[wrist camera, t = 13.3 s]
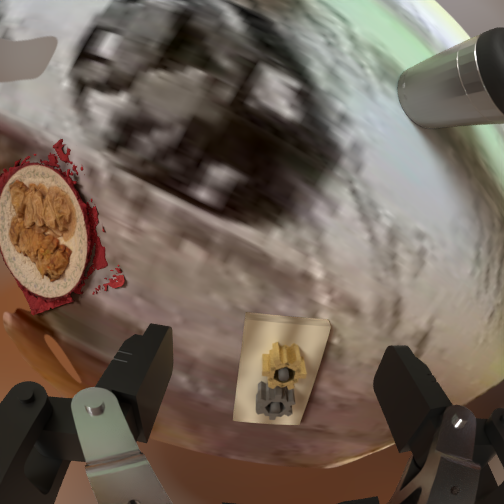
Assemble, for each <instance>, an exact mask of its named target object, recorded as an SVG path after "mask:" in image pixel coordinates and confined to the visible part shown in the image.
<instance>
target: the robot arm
mask: <svg viewBox="0 0 504 504" xmlns="http://www.w3.org/2000/svg"><path fill="white" fill-rule="evenodd" d="M397 88H398V97H399V101H400V103H401V106H402V108H403V109H404V111H405V113H406V114H407V115H408V116H409V118H410V119H411V120H412V121H414V122H415V123H416V124H418V125H419V126H421V127H424V128H429V129H434V128H444V127H457V126H470V125H486V124H504V28H494V29H491V30H489V31H486V32H484V33H482V34H480V35H478V36H476V37H473V38H471V39H468V40H466V41H464V42H462V43H460V44H458V45H455V46H453V47H451V48H449V49H447V50H445V51H443V52H441V53H438V54H436V55H434V56H432V57H430V58H428V59H426V60H424V61H422V62H420V63H418V64H416V65H414V66H413V67H411V68H409V69H407V70H406V71H404V72H403V73H402V75H401V76H400V79H399V81H398V87H397ZM172 370H173V337H172V328H171V327H169V326H163V325H158V324H152V323H151V324H150V325H149V326H148V328H147V330H146V331H145V333H144V334H143V336H142V335H137V334H135V335H133V336H132V337H130V338H129V339H127V340H126V341H124V343H123V344H122V346H121V347H120V349H119V352H117V353H116V355H115V356H114V360H112V361H111V363H110V364H109V366H108V367H107V369H106V370H105V372H104V373H103V375H102V377H101V378H100V380H99V381H98V383H97V385H96V386H95V387H92V388H87V389H84V390H81V391H80V392H78V393H77V394H76V395H75V396H74V398H59V397H49V396H48V395H47V393H46V390H45V389H44V387H42V386H41V385H40V384H38V383H35V382H31V381H27V382H22V383H19V384H17V385H15V386H14V387H13V388H12V389H11V390H10V391H9V393H8V394H7V395H6V397H5V398H4V399H3V401H2V402H1V403H0V504H54V502H55V500H56V497H57V494H58V492H59V489H60V487H61V484H62V481H63V479H64V476H65V474H66V471H67V469H68V467H69V464H70V462H71V461H81V462H86V464H87V465H85V469H86V473H87V476H88V479H89V482H90V484H91V487H92V490H93V492H94V495H95V497H96V499H97V502H98V504H173V503H172V502H171V500H170V499H169V497H168V495H167V494H166V492H165V490H164V489H163V487H162V485H161V484H160V482H159V480H158V479H157V477H156V475H155V473H154V472H153V470H152V468H151V466H150V464H149V462H148V461H147V459H146V457H145V455H144V454H143V453H141V451H140V450H139V448H138V446H137V444H136V441H139V442H144V443H147V442H148V439H149V436H150V433H151V430H152V427H153V424H154V422H155V419H156V416H157V413H158V410H159V408H160V405H161V402H162V399H163V397H164V394H165V391H166V389H167V386H168V383H169V380H170V378H171V375H172ZM436 381H437V380H436V379H435V377H434V376H433V375H432V373H431V371H430V370H429V368H428V367H427V365H426V364H424V363H423V362H422V361H421V360H419V359H418V358H417V357H415V355H414V354H413V352H412V351H411V350H410V348H409V347H408V346H406V345H404V346H388V347H387V349H386V351H385V353H384V355H383V358H382V360H381V363H380V365H379V367H378V370H377V372H376V374H375V377H374V382H373V387H374V392H375V394H376V396H377V399H378V401H379V404H380V406H381V408H382V411H383V413H384V416H385V418H386V421H387V423H388V425H389V428H390V431H391V433H392V436H393V438H394V441H395V443H396V446H397V448H398V451H399V453H401V452H406V451H412V453H413V454H412V455H411V457H410V458H409V460H408V462H407V465H406V467H405V470H404V472H403V474H402V477H401V479H400V481H399V483H398V486H397V488H396V490H395V492H394V494H393V496H392V498H391V499H390V500H389V502H388V503H387V504H504V481H503V483H502V484H501V485H499V486H498V485H497V483H496V481H495V478H494V476H493V474H492V471H491V469H490V467H489V465H488V462H489V461H490V460H491V459H492V458H493V457H494V456H495V455H496V454H497V455H498V457H499V459H500V461H501V463H502V465H503V467H504V409H503V408H498V409H496V410H494V411H493V413H492V414H491V416H490V417H489V419H477V418H475V416H474V414H473V413H472V412H471V411H470V410H469V409H467V408H465V407H463V406H460V405H452V403H451V402H450V400H449V399H448V397H447V396H446V394H445V392H444V391H443V389H442V388H441V386H440V385H439V383H438V382H436ZM222 504H234V503H222ZM338 504H379V500H378V497H377V496H376V497H371V498H365V499H359V500H352V501H345V502H341V503H338Z"/></svg>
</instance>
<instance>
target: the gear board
mask: <svg viewBox="0 0 504 504" xmlns="http://www.w3.org/2000/svg"><path fill="white" fill-rule="evenodd" d="M330 328H331V326H330V323H329V320H328V319H314V318H301V317H290V316H279V315H269V314H259V313H250V312H246V315H245V323H244V331H243V340H242V348H241V356H240V364H239V373H238V381H237V389H236V397H235V406H234V414H233V421H241V422H252V423H266V424H286V425H299V424H300V421H301V419H302V416H303V413H304V410H305V408H306V405H307V402H308V399H309V396H310V393H311V390H312V387H313V384H314V381H315V378H316V375H317V372H318V369H319V366H320V362H321V359H322V356H323V353H324V349H325V346H326V342H327V339H328V335H329V332H330ZM276 342H279V345H280V346H283V345H287V346H289V347H290V346H291V345H292V344H293V343H295V344H296V345H298V346H299V351H300V356H301V357H304V362H305V367H306V372H307V375H306V379H300V378H299V380H298V383H294V386H295V388H294V389H290V390H288V388H287V386H285V387H282V388H281V387H279V386H276V387H275V388H274V389H272V388H270V387H268V378H267V376H262V354H269V350H271V349H272V344H273V343H276ZM278 375H279V380H280V381H287V380H288V379H289V372H288V367H284V368H280V369H278Z"/></svg>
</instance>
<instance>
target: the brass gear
mask: <svg viewBox="0 0 504 504" xmlns="http://www.w3.org/2000/svg"><path fill="white" fill-rule="evenodd" d="M284 367H288V372H289V379H288V380H287V381H280V380H279V375H278V369H280V368H284ZM306 375H307V372H306V367H305V362H304V357H301V356H300V351H299V346H298V345H296V344H295V343H293V344H292V345H291V346H290V347H289V346H287V345H283V346H280V345H279V342H276V343H273V344H272V349H271V350H269V354H262V376H267V378H268V387H270V388H272V389H274V388H275V387H276V386H279V387H281V388H282V387H285V386H287V388H288V390H290V389H294V388H295V386H294V383H298V380H299V378H300V379H306Z"/></svg>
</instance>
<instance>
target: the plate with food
mask: <svg viewBox="0 0 504 504" xmlns="http://www.w3.org/2000/svg"><path fill="white" fill-rule="evenodd" d="M62 142H63V139H60V140H59V141H58V142H57V143H56V144H55V145H53V148H55V151H56V152H57V154H58V156H59V155H60V156H59V158H60V160H62V161H64V162H65V163H67V162H68V163H70V164H73V162H70V161H69V158H68V155H70V151H71V150H70V149H69V148H68V149H67V153H66V155H65V154H64V153H63V151H62V147H63V146H64V145H66V144H64V145H62ZM33 155H34V156H35V155H36V154H33ZM54 155H55V154H52V155H51V153H50V155H48V157H49V158H48V159H50V161H49V162H48V161H44V160H43V161H41V159H40V161H41V163H44V164H45V165H43V164H42V165H41V164H39V163H29V161H27V162H26V160H27V159H29V158H30V156H28V157H27V158H25V159H24V161H22V163H21V165H20V166H17V165H18V164H19V161H20V160H21V159H20V160H18V161H16V162H15V166H14V167H13V168H12V167H10V168H9V172H7V170H6V169H5V168H4V170H3V171H4V173H2V174H1V176H0V252H1V254H2V256H3V260H4V262H5V264H6V266H7V267H8V269H9V270H10V272H11V274H12V275H13V276H14V277H15V280H16V281H17V284H18V286H19V287H20V289H21V290H22V291H23V293H24V295H25V297H26V299H27V301H28V303H29V306H30V309H31V314H33V315H35V314H38V313H41V312H44V311H46V310H50V307H51V308H52V309H53V308H55V307H58V306H60V305H63V304H67V303H70V302H73V301H72V297H71V295H70V294H71V293H72V292H74V293H77V294H82V293H83V291H82V293H81V288H82V286H84V285H85V283H84V282H83V284H82V283H81V281H82V280H85V279H88V277H85V276H84V274H85V272H84V271H85V269H86V266H88V263H89V261H90V259H91V258H90V256H91V254H92V249H93V246H94V243H96V245H95V248H96V250H95V251H96V252H95V256H94V258H93V263H94V264H92V265H91V266H90V268H89V271H88V272H87V276H89V275H91V274H92V272H93V270H95V268H96V269H97V270H99V269H101V268H105V267H106V266H107V265H108V263H107V261H106V259H105V247H102V245H101V242H100V238H99V237H98V236H97V232H96V230H95V229H96V226H97V225H96V224H98V221H99V220H98V215H99V214H98V213H97V210H96V206H95V207H94V206H93V208H91V207H90V206H89V204H88V202H87V204H85V203H84V202H83V201H82V200H81V197H80V195H79V192H78V191H77V190H76V189H75V187H74V185H73V184H76V183H77V182H76V181H72V179H71V178H70V176H69V175H72V176H73V173H72V171H71V173H70V169H69V170H68V169H67V170H68V171H67V175H66V171H65V172H63V173H62V171H61V169H59V170H58V169H54V167H52V166H56V167H57V168H59V165H57V163H58V161H57V156H54ZM24 163H26V164H24ZM23 164H24V165H23ZM47 165H48V166H47ZM49 165H50V166H49ZM67 165H68V164H67ZM76 167H77V166H75V165H73V170H74V171H75V172H76V174H77V175H78V172H77V170H76ZM81 171H83V167H81ZM84 175H85V174H84ZM91 202H92V199H91ZM92 203H93V202H92ZM87 206H88V207H87ZM88 208H89V209H88ZM91 210H92V211H91ZM87 213H89V214H87ZM91 214H92V215H91ZM93 216H94V217H93ZM95 222H96V223H95ZM103 232H105V231H104V229H103ZM95 257H96V258H95ZM118 266H119V265H118ZM92 267H94V269H93V268H92ZM115 269H116V270H117V271H118V273H122V272H121V271H120V269H118V268H115ZM110 271H113V270H110ZM116 274H117V273H116ZM82 277H83V278H82ZM113 277H116V278H117V279H114V280H113V279H109V280H110V283H107V284H103V286H104V287H105V290H104V291H107V285H109V286H111V287H112V288H117V287H121V286H122V285H123V284H124V276H123V275H119V276H116V275H113ZM104 279H107V278H104ZM116 280H117V281H118V282H116ZM85 281H86V280H85ZM98 288H99V289H97V288H95V289H97V290H98V291H99V290H100V285H99V286H98ZM102 289H103V288H102ZM94 293H95V292H93V294H94ZM93 294H92V295H93ZM96 294H97V291H96ZM36 296H37V297H38V299H37V298H36Z"/></svg>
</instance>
